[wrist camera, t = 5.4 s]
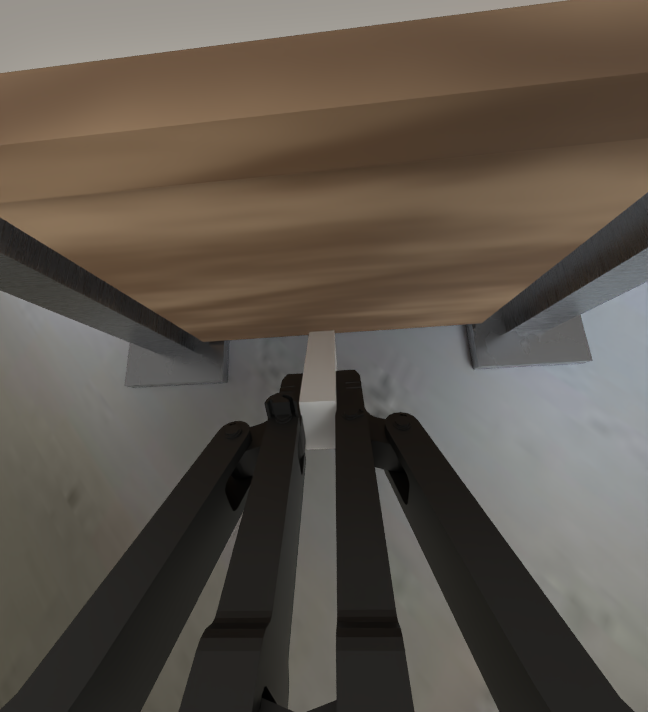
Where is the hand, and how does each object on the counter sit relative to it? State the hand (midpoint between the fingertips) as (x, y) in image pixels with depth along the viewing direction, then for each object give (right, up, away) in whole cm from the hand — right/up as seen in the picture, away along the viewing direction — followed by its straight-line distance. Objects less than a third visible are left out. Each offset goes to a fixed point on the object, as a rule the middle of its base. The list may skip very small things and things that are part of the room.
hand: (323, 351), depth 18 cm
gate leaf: (+1, +3, +5) cm, 6 cm away
